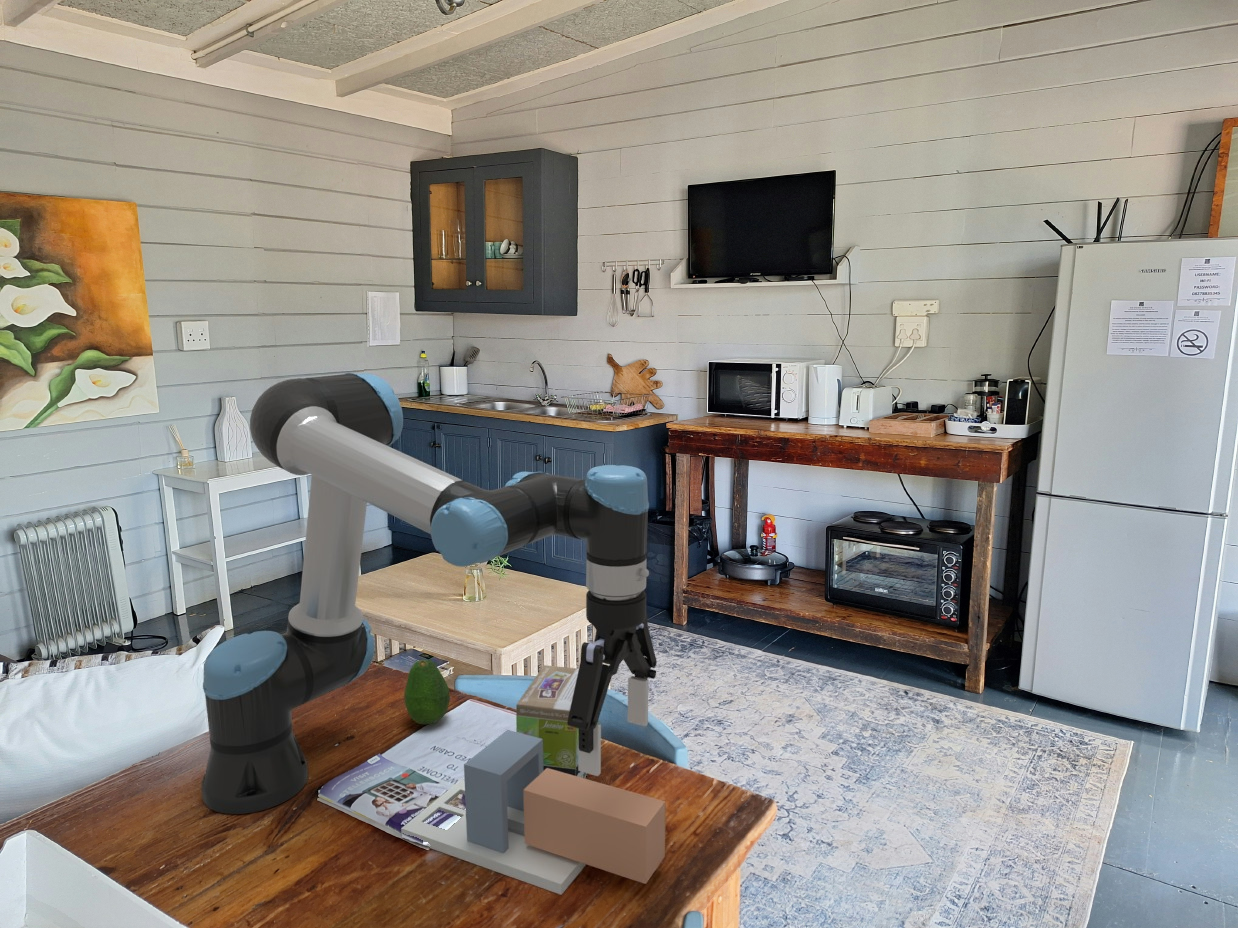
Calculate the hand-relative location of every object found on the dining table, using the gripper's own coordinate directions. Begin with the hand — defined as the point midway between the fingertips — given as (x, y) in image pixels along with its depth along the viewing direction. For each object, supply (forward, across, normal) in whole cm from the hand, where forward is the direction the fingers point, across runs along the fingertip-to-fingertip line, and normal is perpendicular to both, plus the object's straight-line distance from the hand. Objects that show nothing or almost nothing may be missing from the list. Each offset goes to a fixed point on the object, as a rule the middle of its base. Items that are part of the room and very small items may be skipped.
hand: (614, 746), depth 109 cm
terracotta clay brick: (+15, -1, +2) cm, 16 cm away
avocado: (+18, +20, +48) cm, 55 cm away
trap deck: (+18, -1, +16) cm, 24 cm away
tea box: (+18, +17, +18) cm, 31 cm away
